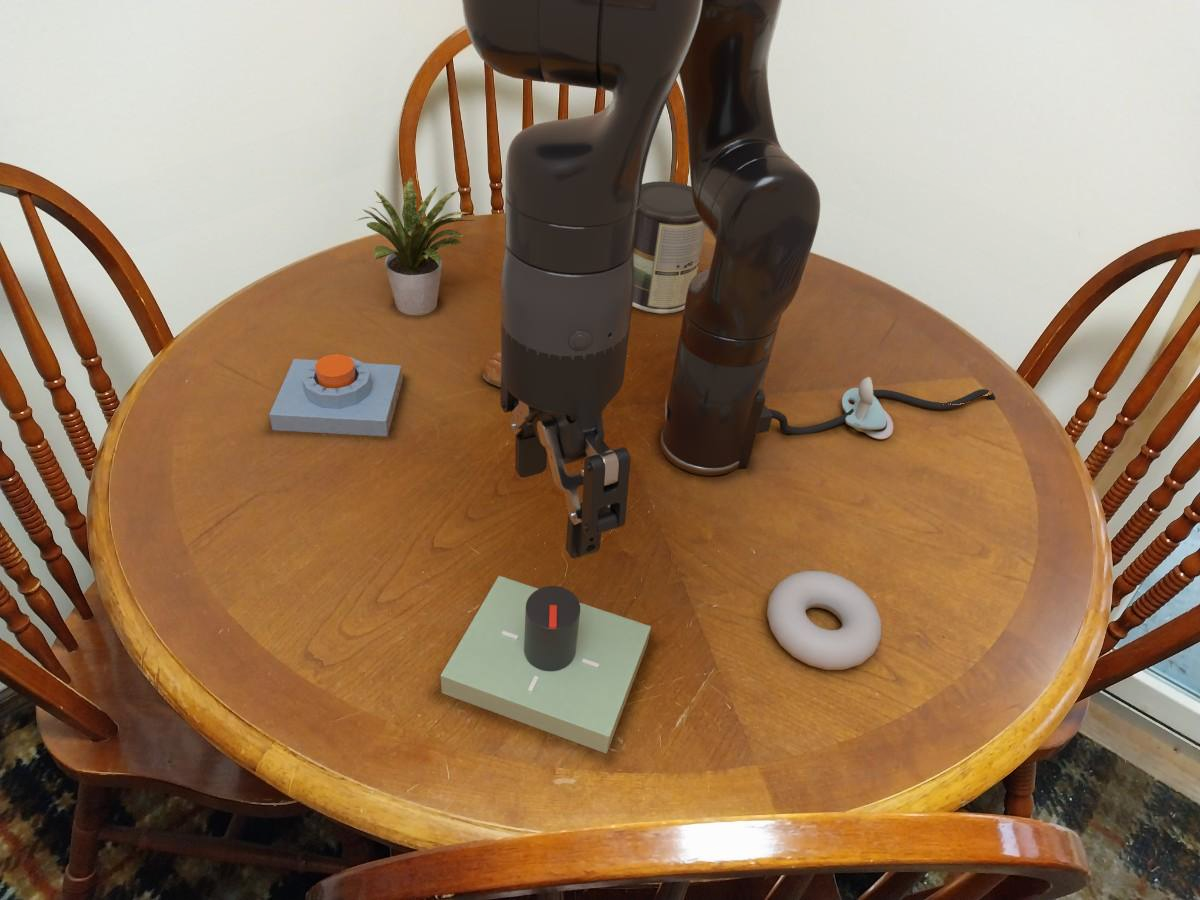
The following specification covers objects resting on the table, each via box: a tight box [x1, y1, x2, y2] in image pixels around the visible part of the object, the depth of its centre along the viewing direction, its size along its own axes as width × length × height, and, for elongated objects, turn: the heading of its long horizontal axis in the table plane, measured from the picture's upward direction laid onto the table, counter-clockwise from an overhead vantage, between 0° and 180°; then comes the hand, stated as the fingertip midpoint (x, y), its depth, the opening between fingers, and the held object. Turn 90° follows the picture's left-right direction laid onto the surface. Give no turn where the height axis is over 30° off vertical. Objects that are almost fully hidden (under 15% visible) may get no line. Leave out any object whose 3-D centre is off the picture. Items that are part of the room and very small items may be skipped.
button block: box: [268, 356, 404, 437], centre depth 92 cm, size 12×10×4 cm
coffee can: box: [632, 180, 707, 315], centre depth 112 cm, size 10×10×14 cm
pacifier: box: [841, 376, 894, 440], centre depth 97 cm, size 7×6×6 cm
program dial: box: [524, 585, 581, 671], centre depth 67 cm, size 4×4×6 cm
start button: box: [315, 353, 356, 389], centre depth 90 cm, size 4×4×2 cm
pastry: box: [482, 349, 501, 388], centre depth 99 cm, size 9×7×4 cm
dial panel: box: [440, 575, 652, 755], centre depth 69 cm, size 14×11×3 cm
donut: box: [766, 570, 882, 671], centre depth 74 cm, size 10×3×10 cm
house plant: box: [355, 175, 476, 316], centre depth 103 cm, size 14×14×16 cm
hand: (555, 510), depth 60 cm, fingers open, 8 cm apart
